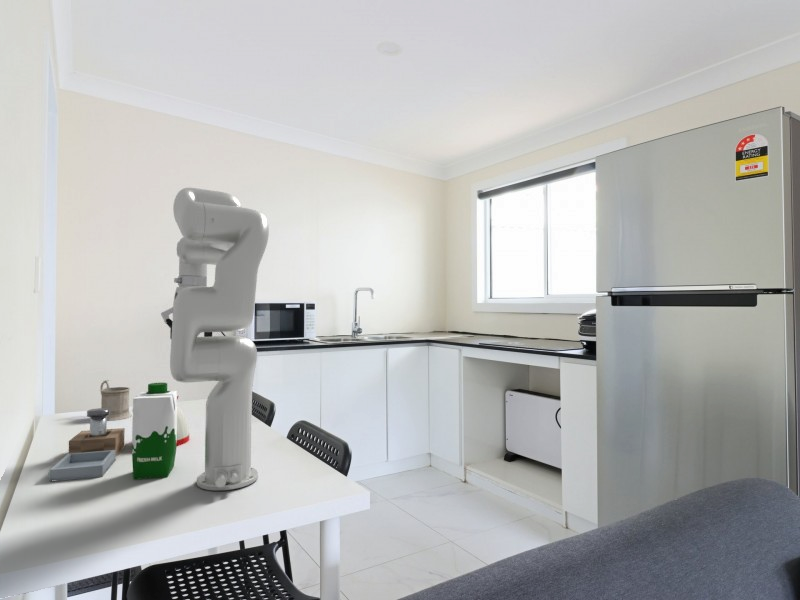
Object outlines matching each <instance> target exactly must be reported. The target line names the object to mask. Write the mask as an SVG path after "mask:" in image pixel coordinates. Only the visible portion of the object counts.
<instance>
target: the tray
mask: <svg viewBox="0 0 800 600" xmlns="http://www.w3.org/2000/svg"><path fill="white" fill-rule="evenodd" d="M116 457H117V456H116V450H108V451H95V452H83V453H70V454H69V453H67V454H66V455H65V456H64V457H62V458H61V459H60V460H59V461H58V462H56V464H55V465H53V466H52V467H51V468H50V469H49V470H48V471H49V473H48V474H49V476H48V477H49V478H48V482H53V481H52V480H60V481H69V480H79V479H80V480H81V479H89V478H90V479H91V478H101V477H102V478H103V477H104V475H106V474H107V472H108V470H109V469H110V468H111V467H112V465H113V464H114V463H115V461H116V459H117V458H116Z"/></svg>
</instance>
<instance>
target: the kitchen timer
mask: <svg viewBox="0 0 800 600" xmlns="http://www.w3.org/2000/svg"><path fill="white" fill-rule="evenodd" d="M178 399H179V395H177V400H178ZM189 441H190V429H189V426H188V422H187V419H186V416H185V414H184V413H183V411H182V409H181V408H180V407H179V406H178V405H177V447H179V446H182V445H184V444H186V443H188V442H189Z"/></svg>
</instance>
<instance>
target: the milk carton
mask: <svg viewBox="0 0 800 600" xmlns="http://www.w3.org/2000/svg"><path fill="white" fill-rule="evenodd" d="M177 396H178V391H177V390H168V382H151V383H148V385H147V391H141V392H140V393H138V394H136V395H135V397H133V398H132V426H131V428H132V431H131V434H132V435H131V437H132V438H131V461H132V479H133V481H134V480H144V479H145V480H146V479H157V478H168V477H169V476H170V474H171V472H172V470H173V469H174V467H175V461H176V453H177V448H178V446H177V406H178V399H177Z"/></svg>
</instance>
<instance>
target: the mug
mask: <svg viewBox="0 0 800 600" xmlns="http://www.w3.org/2000/svg"><path fill="white" fill-rule="evenodd" d="M109 381H110V380H108V379H106V380H103V381H102V383H101V384H100V394H101V401H100V402H101V404H100V405H101V407H100V408H109V409H110V414H109V415H107V422H115V421H120V420H121V421H122V420H126V419H129V418H132V417H133V414H131V413H130V390H131V387H127V386H117V387H110V384H109ZM104 384H105V385H106V388H104Z"/></svg>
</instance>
